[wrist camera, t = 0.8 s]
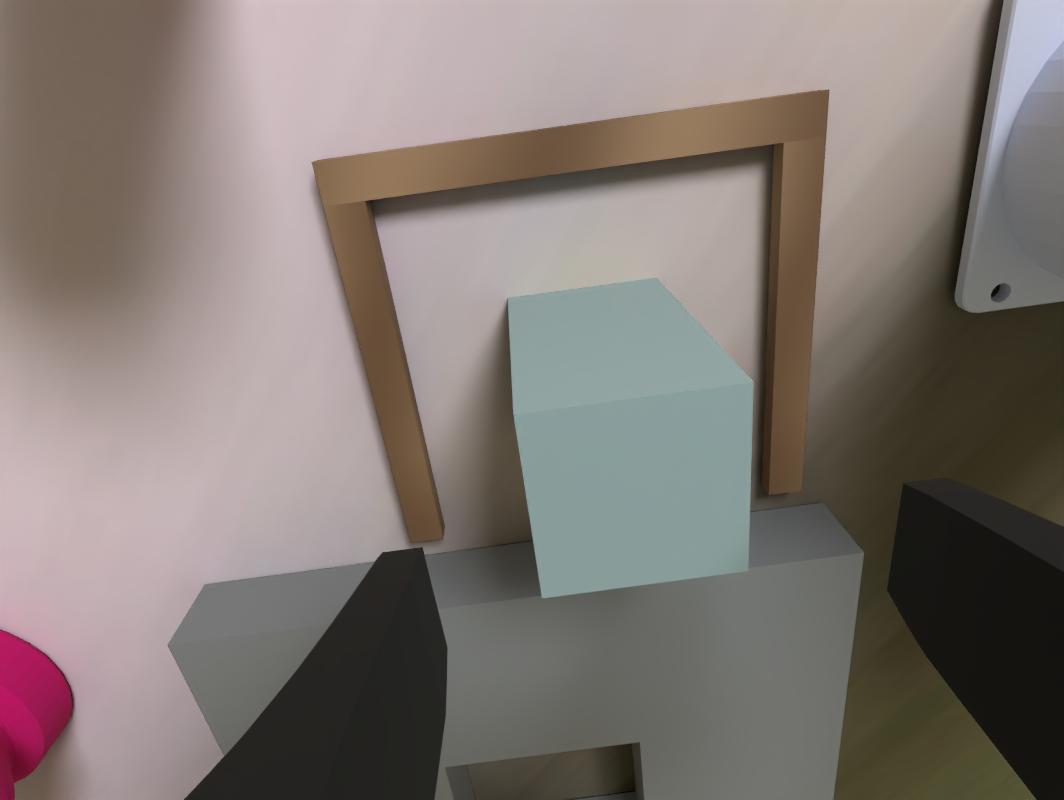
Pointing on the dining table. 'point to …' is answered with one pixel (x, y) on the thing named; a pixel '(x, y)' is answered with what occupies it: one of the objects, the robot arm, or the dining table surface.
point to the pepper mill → (28, 709)
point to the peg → (628, 439)
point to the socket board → (589, 662)
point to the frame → (569, 149)
